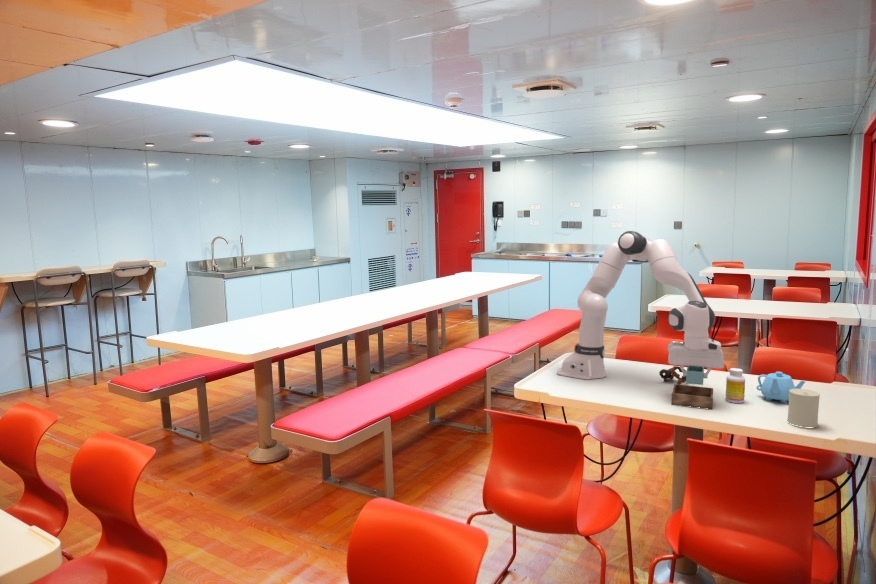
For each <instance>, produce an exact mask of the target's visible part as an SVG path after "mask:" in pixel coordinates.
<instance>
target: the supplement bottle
mask: <svg viewBox="0 0 876 584" xmlns="http://www.w3.org/2000/svg"><path fill="white" fill-rule="evenodd" d="M743 374H744V370H743V369H742V368H737V367H732V368H729V374H727V375H726V381H725V401H727V402H729V403H733V404H741V403H742V404H743V403H744V402H745V390H746V388H745V387H746V378H745V376H743Z"/></svg>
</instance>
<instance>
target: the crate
mask: <svg viewBox="0 0 876 584" xmlns="http://www.w3.org/2000/svg"><path fill="white" fill-rule="evenodd" d="M713 400H714V387H704V386H696V385H689V384H681V385H679V384H677V383H676V384H674V385H673V389H672V391H671V400H670V401H671V402H670V403H671V404H670V405H672V406H679V405H681V407H687V406H691V407H690V408H695V407H700V408H699V409H703V408H708V409H707V410H711V409H712V410H713V402H714V401H713Z"/></svg>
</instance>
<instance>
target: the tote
mask: <svg viewBox="0 0 876 584" xmlns="http://www.w3.org/2000/svg"><path fill="white" fill-rule="evenodd" d="M686 371H687V373H686V382H685V383H686V385H689V384H690V385H701V386H704V380H705V378H703V377H704V373H705V372H704V371H705V367H696V366H687V368H686Z"/></svg>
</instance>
